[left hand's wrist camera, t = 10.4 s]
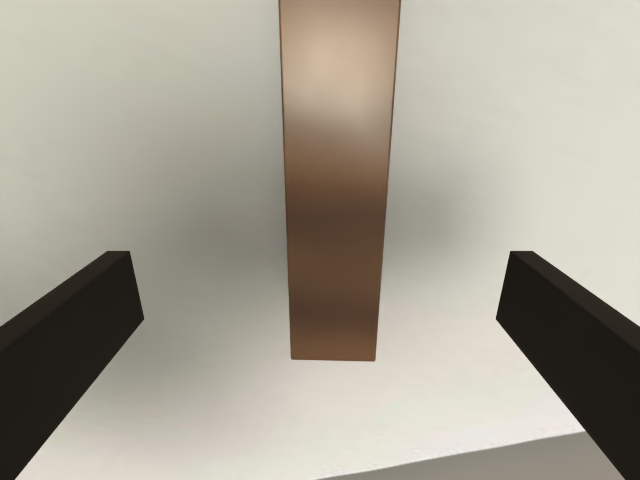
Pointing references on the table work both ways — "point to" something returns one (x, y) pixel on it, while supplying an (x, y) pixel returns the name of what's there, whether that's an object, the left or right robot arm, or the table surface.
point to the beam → (336, 169)
